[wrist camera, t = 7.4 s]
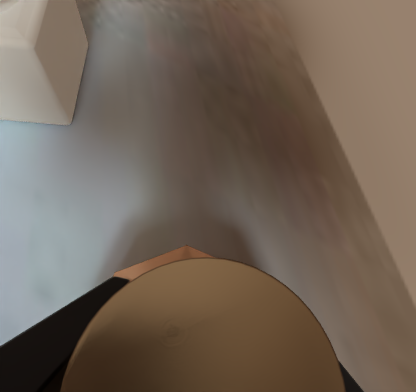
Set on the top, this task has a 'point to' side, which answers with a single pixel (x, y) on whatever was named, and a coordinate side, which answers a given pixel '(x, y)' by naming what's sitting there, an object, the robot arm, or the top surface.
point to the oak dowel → (204, 335)
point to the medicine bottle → (40, 60)
